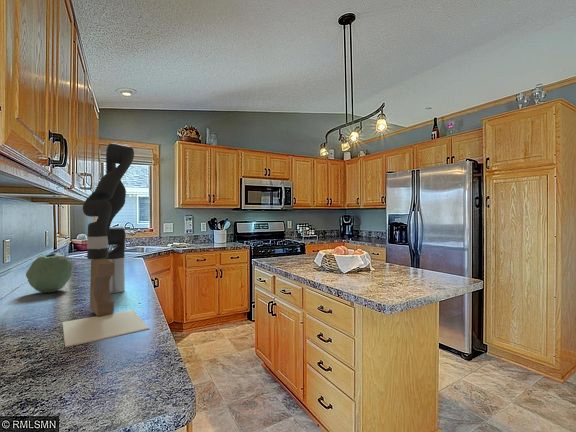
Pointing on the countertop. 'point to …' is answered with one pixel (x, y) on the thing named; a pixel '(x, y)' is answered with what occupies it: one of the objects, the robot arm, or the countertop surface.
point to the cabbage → (49, 272)
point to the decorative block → (101, 287)
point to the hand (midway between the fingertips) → (98, 288)
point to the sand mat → (102, 327)
